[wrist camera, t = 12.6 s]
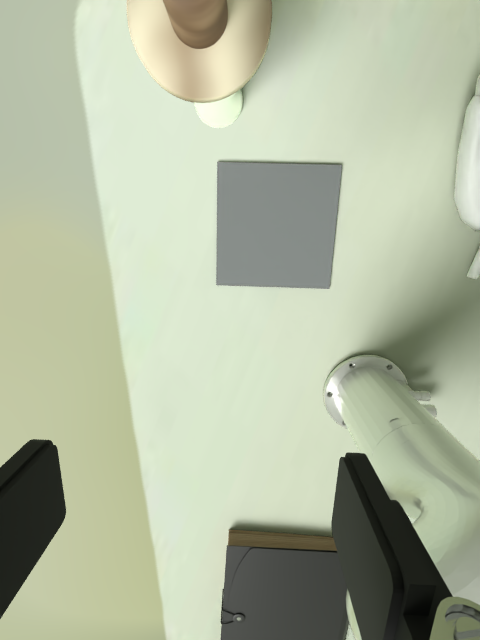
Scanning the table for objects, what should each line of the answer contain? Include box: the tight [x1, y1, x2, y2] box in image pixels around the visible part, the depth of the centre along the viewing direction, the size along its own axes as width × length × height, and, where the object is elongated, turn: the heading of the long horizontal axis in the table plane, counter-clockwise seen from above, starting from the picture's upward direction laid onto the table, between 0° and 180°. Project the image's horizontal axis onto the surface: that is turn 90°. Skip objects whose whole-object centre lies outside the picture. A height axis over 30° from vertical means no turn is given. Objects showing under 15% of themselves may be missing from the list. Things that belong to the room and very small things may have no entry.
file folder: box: [221, 530, 349, 640], centre depth 59 cm, size 33×4×24 cm
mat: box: [216, 162, 342, 289], centre depth 43 cm, size 16×16×1 cm
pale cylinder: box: [194, 89, 243, 128], centre depth 32 cm, size 7×7×15 cm
